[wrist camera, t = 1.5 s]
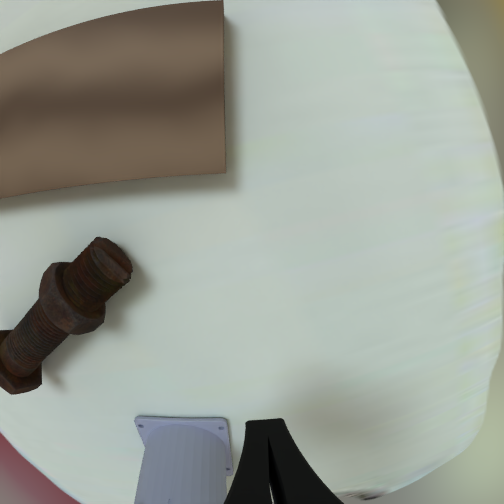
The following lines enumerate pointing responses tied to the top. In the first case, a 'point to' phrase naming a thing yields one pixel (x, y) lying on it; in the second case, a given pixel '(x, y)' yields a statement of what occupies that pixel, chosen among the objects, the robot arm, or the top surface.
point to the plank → (115, 100)
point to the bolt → (62, 311)
